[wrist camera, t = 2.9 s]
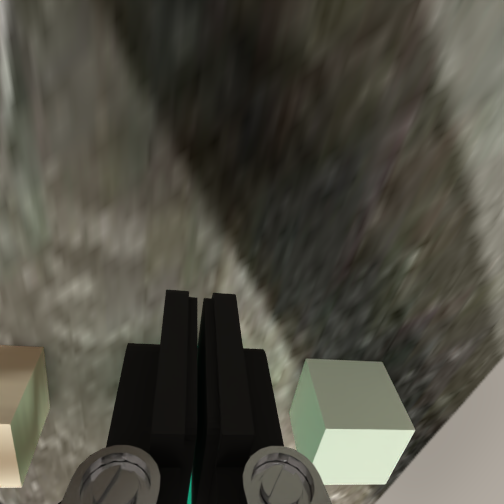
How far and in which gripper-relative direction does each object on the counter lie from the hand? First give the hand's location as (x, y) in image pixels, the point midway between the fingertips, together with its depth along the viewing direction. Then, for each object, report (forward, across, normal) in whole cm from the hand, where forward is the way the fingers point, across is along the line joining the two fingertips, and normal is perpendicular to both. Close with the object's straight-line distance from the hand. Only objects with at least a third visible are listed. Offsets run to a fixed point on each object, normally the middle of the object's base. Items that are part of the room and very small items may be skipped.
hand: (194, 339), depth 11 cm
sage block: (+9, -9, +11) cm, 17 cm away
